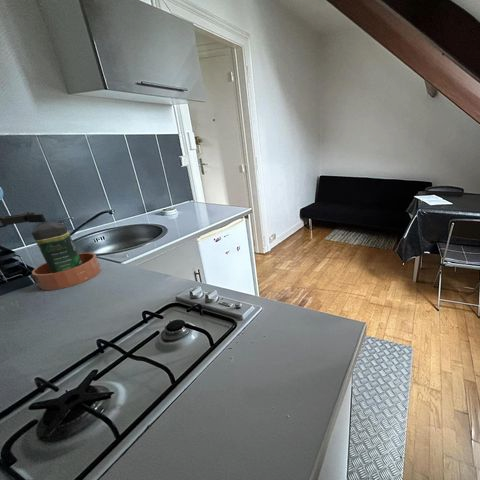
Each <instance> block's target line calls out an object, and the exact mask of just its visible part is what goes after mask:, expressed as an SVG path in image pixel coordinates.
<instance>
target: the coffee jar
mask: <svg viewBox="0 0 480 480" xmlns="http://www.w3.org/2000/svg"><path fill="white" fill-rule="evenodd" d="M39 224H40V223H39ZM31 235H32V237H33V239H34V241H35V243H36V245H37V247H38V249H39V250H40V253H41V255H42V257H43V259H44V261H45V263H46V262H47V264H48V266H49V268H50V271H51V273H57V272H61V271H65V270H68V269H71V268H74V267H77V266H80V265H82V264H83V263H82V261H81V259H80V257H79V254H78V250H77V247H76V245H75V243H74V241H73V239H72V237H71V234H70V232H69V230H68V229H67V227H66V224H65V223H63V222H58V221H51V222H43V223H41V224H40V225H38V226H37V227H35V228H33V230H32V231H31Z"/></svg>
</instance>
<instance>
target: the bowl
mask: <svg viewBox="0 0 480 480" xmlns="http://www.w3.org/2000/svg"><path fill="white" fill-rule="evenodd" d="M78 254H79V257H80V259H81V261H82V263H83V264H82V265H80V266H77V267H74V268H71V269H68V270H65V271H61V272H57V273H51V271H50V268H49V266H48V264H47V262H46V261H45V262H44V263H42V264H40V265H38V266H37V267H35V268H34V269H32V271H31V274H32V276H33V278H34V280H35V281H36V284H37V285H38V287H39V288H40V289H41V290H43V291H55V290H61V289H62V290H63V289H66V288H69V287H74V286H76V285H79V284H81V283H84V282H86V281H88V280H90V279H92V278H95V277H96V276H98V274H100V273H101V271H102V266H101V263H100V261H99V260H98V256H97V255H96V253H95V252H94V253H93V252H80V253H78Z"/></svg>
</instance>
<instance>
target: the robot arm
mask: <svg viewBox="0 0 480 480" xmlns="http://www.w3.org/2000/svg"><path fill="white" fill-rule="evenodd" d="M3 198H4V190H3V188H2V187H1V186H0V201H2V199H3ZM23 223H47V220H46V218H45V215H44V214H43V213H42V214H41V213H40V214H39V213H38V214H36V213H35V212H30V211H27V212H26V213H19V214H10V215H1V216H0V229H1V228H6V227H8V226H10V225H17V224H23Z"/></svg>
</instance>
